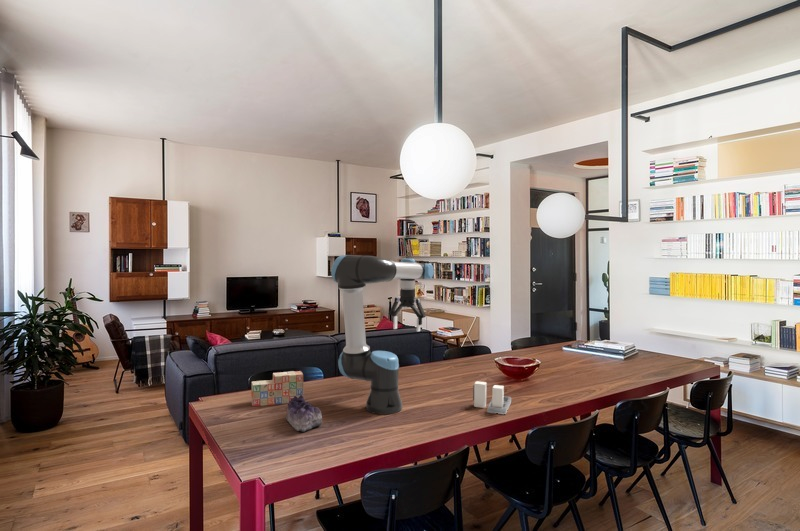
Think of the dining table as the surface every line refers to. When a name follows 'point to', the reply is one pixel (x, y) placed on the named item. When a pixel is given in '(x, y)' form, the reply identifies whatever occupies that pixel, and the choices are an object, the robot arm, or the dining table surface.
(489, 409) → the rail
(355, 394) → the dining table surface
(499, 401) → the block
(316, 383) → the dining table surface
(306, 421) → the geode
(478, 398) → the block
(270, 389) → the stack of blocks
